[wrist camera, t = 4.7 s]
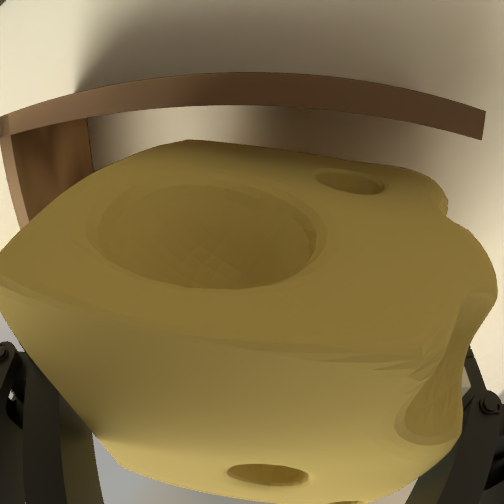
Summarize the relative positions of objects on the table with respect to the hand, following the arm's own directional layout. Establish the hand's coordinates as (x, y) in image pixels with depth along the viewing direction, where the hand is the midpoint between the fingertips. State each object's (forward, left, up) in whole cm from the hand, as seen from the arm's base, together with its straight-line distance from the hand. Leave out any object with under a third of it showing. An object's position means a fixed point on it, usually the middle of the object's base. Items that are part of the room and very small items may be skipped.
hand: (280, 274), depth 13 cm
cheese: (0, 0, -2) cm, 2 cm away
